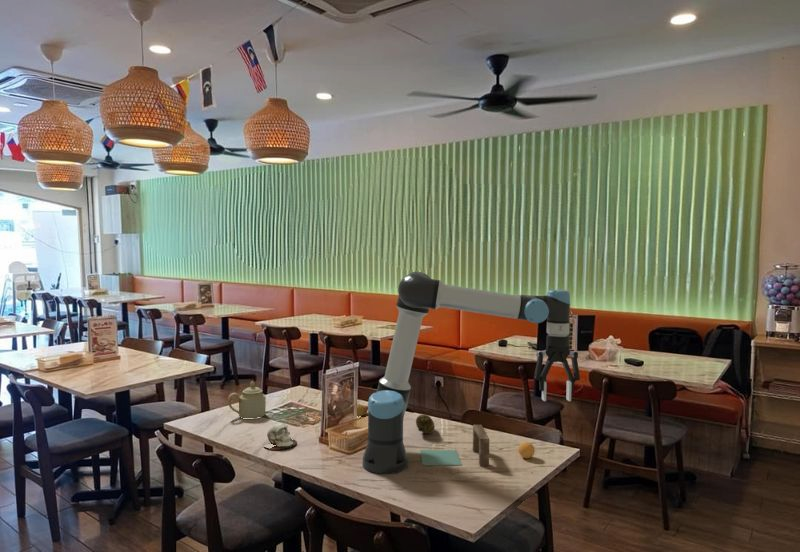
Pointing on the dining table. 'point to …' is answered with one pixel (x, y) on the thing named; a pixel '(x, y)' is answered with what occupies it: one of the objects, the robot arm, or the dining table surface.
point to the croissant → (361, 410)
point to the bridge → (481, 444)
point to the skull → (280, 437)
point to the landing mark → (440, 457)
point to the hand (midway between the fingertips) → (556, 400)
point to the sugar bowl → (250, 402)
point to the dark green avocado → (425, 424)
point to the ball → (526, 449)
